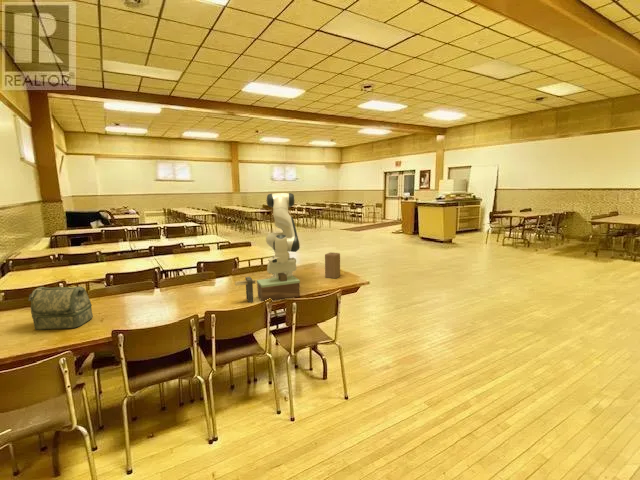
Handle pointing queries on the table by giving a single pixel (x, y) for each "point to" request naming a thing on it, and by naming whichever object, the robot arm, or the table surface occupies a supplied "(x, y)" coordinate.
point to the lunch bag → (60, 307)
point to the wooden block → (332, 265)
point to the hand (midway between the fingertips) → (282, 278)
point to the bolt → (244, 282)
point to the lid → (278, 281)
